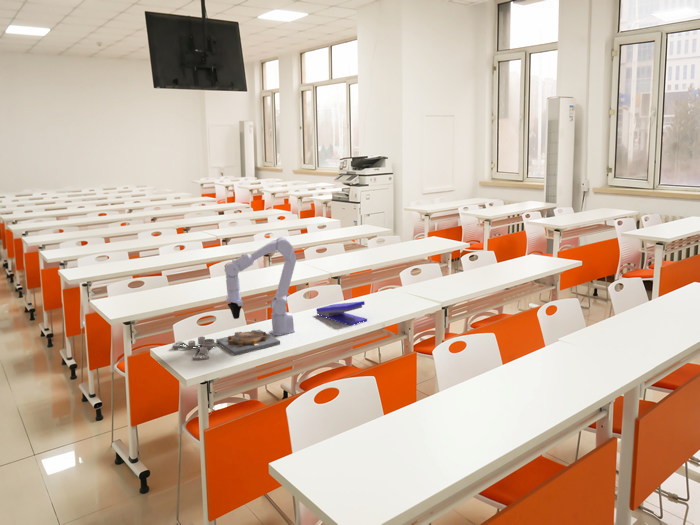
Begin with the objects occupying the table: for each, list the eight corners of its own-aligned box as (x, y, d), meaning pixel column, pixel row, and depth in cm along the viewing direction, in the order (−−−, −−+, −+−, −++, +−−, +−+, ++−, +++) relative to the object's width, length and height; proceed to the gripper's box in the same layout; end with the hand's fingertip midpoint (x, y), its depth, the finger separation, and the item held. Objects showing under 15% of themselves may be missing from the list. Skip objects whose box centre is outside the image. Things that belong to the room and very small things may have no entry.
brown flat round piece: (236, 333, 257) (235, 323, 256) (272, 333, 254) (271, 322, 253) (221, 346, 240) (220, 335, 240) (259, 346, 237) (258, 335, 236)
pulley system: (200, 341, 258) (169, 348, 248) (200, 331, 257) (168, 337, 247) (230, 357, 237) (197, 364, 228) (230, 346, 237) (197, 353, 227)
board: (259, 332, 262) (259, 328, 262) (280, 344, 244) (279, 339, 244) (216, 342, 251) (216, 338, 251) (234, 355, 233) (234, 350, 233)
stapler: (350, 326, 265) (349, 306, 263) (315, 316, 286) (314, 297, 284) (368, 321, 272) (367, 301, 270) (333, 311, 293) (332, 293, 291)
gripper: (219, 288, 255) (222, 317, 258) (231, 293, 244) (234, 323, 246) (233, 285, 259) (236, 313, 262) (246, 290, 247) (249, 320, 250)
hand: (236, 318), depth 254 cm, fingers closed
